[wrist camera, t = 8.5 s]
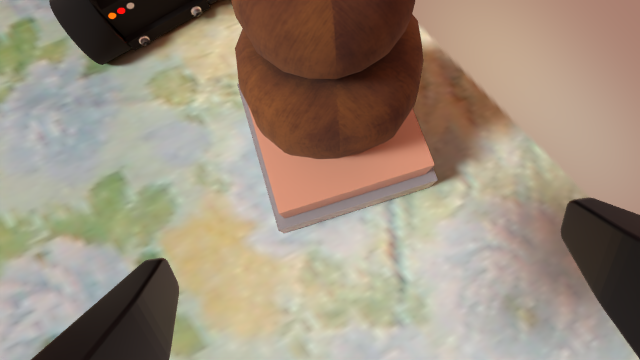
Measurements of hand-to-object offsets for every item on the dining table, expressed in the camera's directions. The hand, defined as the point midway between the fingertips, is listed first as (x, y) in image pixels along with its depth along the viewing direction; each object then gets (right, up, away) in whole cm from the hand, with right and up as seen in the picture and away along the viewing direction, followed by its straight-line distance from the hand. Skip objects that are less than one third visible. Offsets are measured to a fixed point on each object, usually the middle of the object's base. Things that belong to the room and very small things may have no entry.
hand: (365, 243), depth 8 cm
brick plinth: (0, +4, +15) cm, 15 cm away
